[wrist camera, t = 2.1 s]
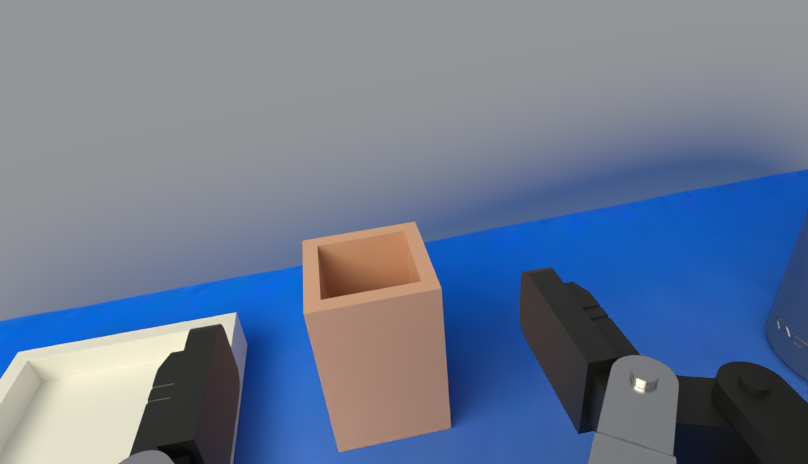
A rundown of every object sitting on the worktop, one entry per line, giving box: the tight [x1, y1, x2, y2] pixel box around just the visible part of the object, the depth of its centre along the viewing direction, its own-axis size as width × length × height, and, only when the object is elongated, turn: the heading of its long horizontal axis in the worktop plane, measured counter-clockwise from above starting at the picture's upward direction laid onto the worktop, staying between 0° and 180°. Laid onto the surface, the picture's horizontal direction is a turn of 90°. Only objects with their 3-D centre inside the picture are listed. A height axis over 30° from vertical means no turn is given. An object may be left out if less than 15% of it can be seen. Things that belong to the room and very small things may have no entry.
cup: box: [303, 222, 451, 452], centre depth 29 cm, size 6×6×10 cm
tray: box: [0, 312, 248, 464], centre depth 29 cm, size 14×14×3 cm
